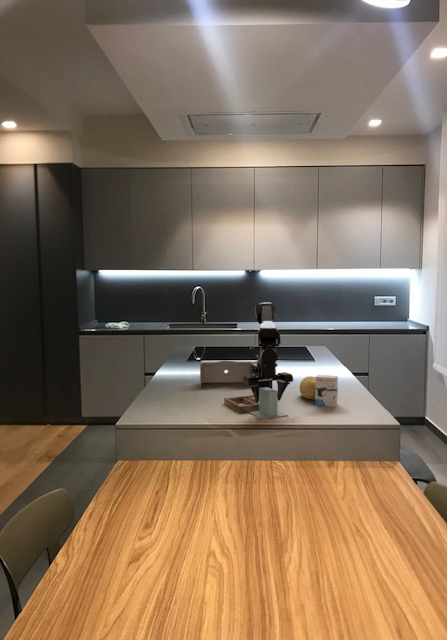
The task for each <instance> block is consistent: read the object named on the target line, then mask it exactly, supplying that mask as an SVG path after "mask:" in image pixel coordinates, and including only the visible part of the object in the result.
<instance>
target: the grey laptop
mask: <svg viewBox="0 0 447 640" xmlns="http://www.w3.org/2000/svg"><path fill="white" fill-rule="evenodd" d="M251 365H254V363H253V361H252V360H250V359H249V360H248V359H247V360H245V359H244V360H242V359H241V360H240V359H239V360H236V359H235V360H233V359H231V360H201V362H200V364H199V373H200V374H199V388H201V387H202V384H204V383H243V377H244V376H249V375H253V376H254V374H250V371H249V368H250V366H251ZM225 371H227V372H225Z"/></svg>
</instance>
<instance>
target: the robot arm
mask: <svg viewBox="0 0 447 640" xmlns="http://www.w3.org/2000/svg"><path fill="white" fill-rule="evenodd" d="M276 307H277V306H276V305H275V304H273V302H260V303H259V304H257V305H254V311H255V312H254V313H255V317H256V320H257V322H258V325H259V329H258V330H257V346H258V347H260V348H259V350H260V351H259V353H260V355H259V358H258V359H257V361H256V365H255V364H253V365H251V366H250V368H249V371H250V374H254V376H253V375H249V376H244V377H243V382H242V384H243V385H246V386H248V387H249V388H250V389H251V392H252V395H254V398H255V401H256V403H258V401H259V388H265V387H268V388H270V389H273V382H274V381H276V384H277V401H281V399H282V398H283V395H284V392H285V391H286V389H287V387H288V386H289V385H290V384H291V383H292V382H293V383H294V376H293V375H292V373H290V372H289V373H288V372H286V371H285V372H278V373H277V369H276V368H277V367H278V363H277V361H278V357H279V356H278V353H277V348H276V347H280V345H281V342H282V341H281V332H280V331H279V330H278V329H277V328H278V327H277V324H276V323H274V320H275V318H274V317H275V316H276V314H277V313H276V309H277V308H276Z"/></svg>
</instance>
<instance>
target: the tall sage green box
mask: <svg viewBox="0 0 447 640" xmlns="http://www.w3.org/2000/svg"><path fill="white" fill-rule="evenodd" d="M277 393H278V390H275V389H273V388H272V389H270V388H268V387H265V388H259V411H260V412H262V413H264V414H266V415H268V416H275V415H277V410H278V397H277Z"/></svg>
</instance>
